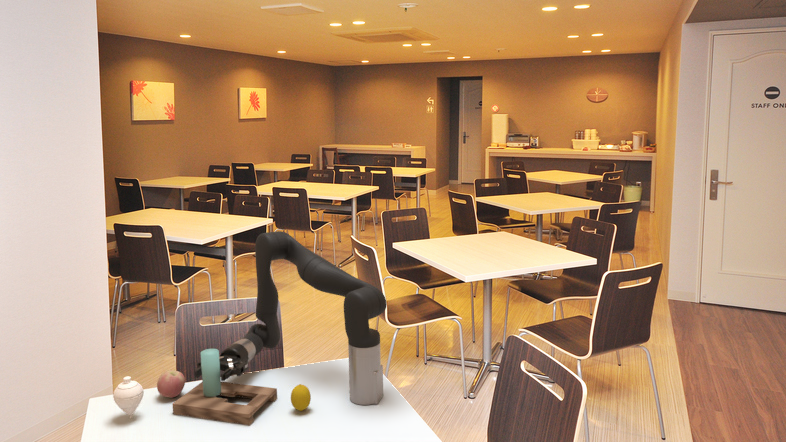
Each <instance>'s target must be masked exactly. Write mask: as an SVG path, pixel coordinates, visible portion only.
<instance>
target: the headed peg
mask: <svg viewBox="0 0 786 442" xmlns="http://www.w3.org/2000/svg"><path fill="white" fill-rule="evenodd" d="M219 357H220V351H219V349H217V348H206V349H204V350H203V349H202V351H200V361H201V367H202V375H201V378H202V381H201V382H203V395H204V396H207V397H216V398H223V396H221V395H219V394H220V393H221V382H222V381H221V371H220V362H219Z"/></svg>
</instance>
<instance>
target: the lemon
mask: <svg viewBox="0 0 786 442" xmlns="http://www.w3.org/2000/svg"><path fill="white" fill-rule="evenodd" d="M311 399H312V398H311V392H310V389H309V388H308V386H306V385H304V384H302V383H300V384H297V385H296V386H294V388H293V389H292V390H291V392H290V402H291V405H292V407H293V408H294V409H296V410H297V411H299V412H303V411H304V410H306V409H307V408H308V407H309V406H310V404H311Z"/></svg>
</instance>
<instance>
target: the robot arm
mask: <svg viewBox="0 0 786 442" xmlns="http://www.w3.org/2000/svg"><path fill="white" fill-rule="evenodd" d="M254 245H255V246H254V251H255V253H254V254H255V255H254V257H255V271H256V281H257V283H256V285H257V288H256V289H257V290H256V291H257V295H256V304H255V305H256V306H255V317H256V319H257V320H258V321H260V322H262V323H263V324H262V323H255V324H253V325H251V326H250V327H249V329H248V332H247V333H246V335H244V337H242V338H240V339H239V340H237V341H235V342H233V343H232V344H230V345H229V346H228V347H225V348H224V349H223V350H222V352H221V353H220V354H219V362H220V377H221V382H226V381H227V380H228V379H229V378H230V377H234V376H235V375H236V376H237V377H240V376H242V375H243V374H244V373H245V372H246V371H247V370H249V363H250V362H251V360H252V359H253V358H254V357H256V356H257V355H258V354H259V353H261V351H263V350H262V349H263V348H266V349H274V348H276V347H277V346H278V344H279V343H280V340H281V329H280V325H279V319H278V307H279V306H278V305H279V292H278V289H277V286H276V284H275V282H274V279H273V277H272V274H271V266H272V261H277V260H286V261H288V262H289V263H292V264H293V265H294V266H296V271H297V274H298V276H299V278H300V279H301V280H302V281H303V282H304V283H305V284H307V285H309V286H310V287H312V288H313V289H315V290H317V291H319V292H322V293H327V294H330V295H336V296H339V297H343V298H344V300H343V315H344V316H343V317H344V329H345V333H346V337H347V340H348V341H347V343H348V344H347V345H348V379H349V380H348V381H349V383H348V384H349V387H348V388H349V390H348V391H349V401H350V402H351V403H353V404H355V405H361V406H368V405H378V404H379V402H380V401H381V399H382V398H383V396H384V367H383V364H381V334H380V332H379V331H378V330H377V329H374V328H371V327H370V323H369V322H370V321H369V320H371V319H374V318H377V317H378V316H380V315H382V314H383V313H384V312H385V311H386V309H387V306H388V305H387V299H386V296H385V294H384V293H383V292H382V291H381V290H380V289H379V288H378V287H376V286H375V285H373V284H371V283H368V282H366V281H364V280H361V278H360V279H359V278H357V277H355V276H353V275H352V274H350V273H349V272H346V271H345V270H343V269H342V268H340V267H338V266H336V265H335V264H334V263H332V262H330V261H329V260H327V259H326V258H324V257H323V256H320V255H318V254H316V253H315V252H314V251H312V250H311V249H309V248H307V247H305V246H304V245H303V244H301V243H300V242H299V241H298V240H297V239H296V238H294V237H293V236H292V235H290V234H289V233H287V232H286V231H279V230H278V231H277V230H276V231H269V232H263V233H260V234H259V235H258V236H257V238H256V241H255V244H254ZM193 374H194V378H199V377H202V367H201V360H199V361H198V362H197V363H196V368H195V370H194V371H193Z"/></svg>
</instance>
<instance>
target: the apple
mask: <svg viewBox="0 0 786 442" xmlns="http://www.w3.org/2000/svg"><path fill="white" fill-rule="evenodd" d="M185 385H186V379H185V375H184V374H183V373H182V372H181V371H178V370H173V369H169V370H165V371H164V372H162V373H161V374H160V375H159V377H158V379H157V383H156V389H157V391H158V393H159V395H160V396H162V397H164V398H169V399H170V398H175V397H178V396H179V395H180V394H181V393H182V391H183V390H184V388H185Z"/></svg>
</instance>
